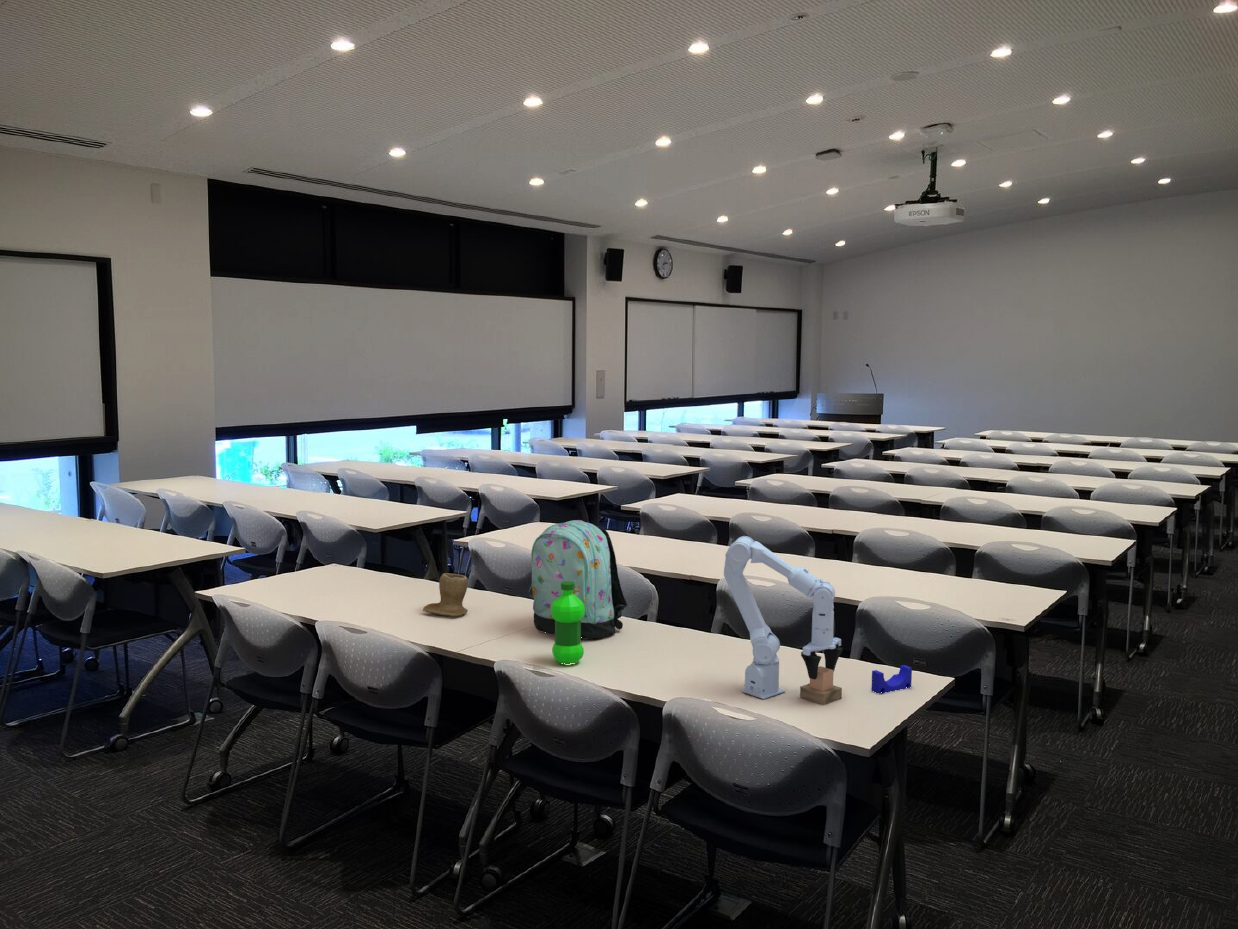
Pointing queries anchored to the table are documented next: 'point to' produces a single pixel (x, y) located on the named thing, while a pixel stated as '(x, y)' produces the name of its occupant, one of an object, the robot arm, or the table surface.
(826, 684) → the light tan block
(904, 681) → the blue cradle block
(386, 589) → the table surface
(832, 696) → the olive block
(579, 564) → the backpack
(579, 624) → the plastic bottle
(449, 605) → the brown boot
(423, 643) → the table surface
